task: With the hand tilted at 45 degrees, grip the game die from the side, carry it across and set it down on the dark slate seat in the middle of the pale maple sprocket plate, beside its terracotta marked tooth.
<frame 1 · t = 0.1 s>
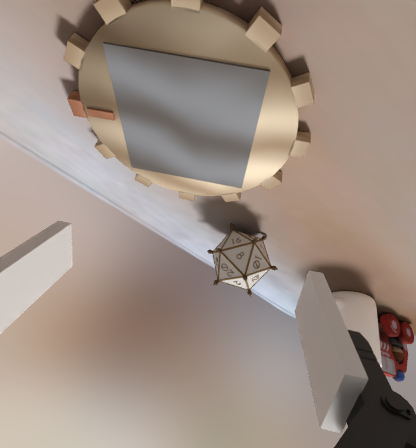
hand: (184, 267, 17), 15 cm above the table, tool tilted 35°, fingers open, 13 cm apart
toy fire truck: (382, 318, 60), on the table
sprocket plate: (189, 119, 27), on the table
mug: (344, 294, 53), on the table
game die: (244, 232, 43), on the table
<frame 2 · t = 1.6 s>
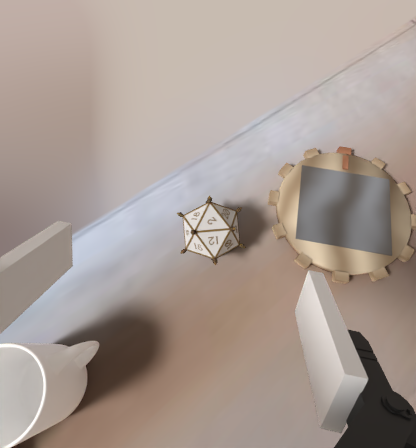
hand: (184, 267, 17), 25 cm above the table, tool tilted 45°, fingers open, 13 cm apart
sprocket plate: (340, 211, 45), on the table
mug: (67, 373, 37), on the table
game die: (210, 240, 43), on the table
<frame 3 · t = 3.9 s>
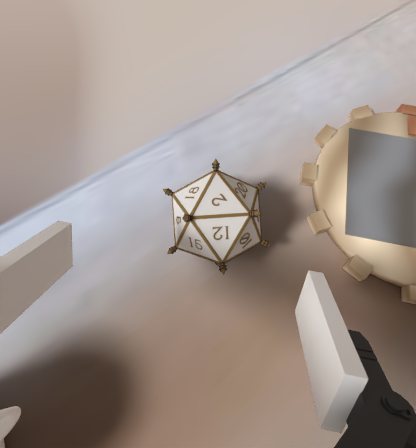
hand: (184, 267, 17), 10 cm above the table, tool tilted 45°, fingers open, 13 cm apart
sprocket plate: (407, 195, 30), on the table
game die: (215, 235, 29), on the table
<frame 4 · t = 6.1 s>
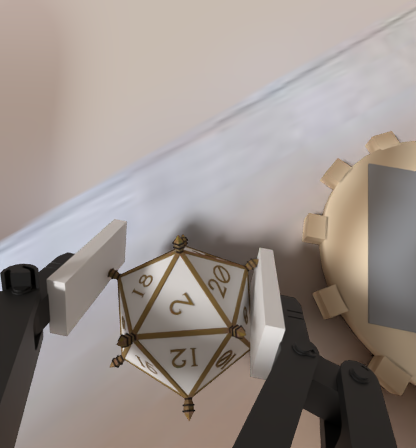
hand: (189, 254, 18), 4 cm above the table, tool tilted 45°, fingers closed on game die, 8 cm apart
game die: (189, 319, 20), on the table, touching gripper
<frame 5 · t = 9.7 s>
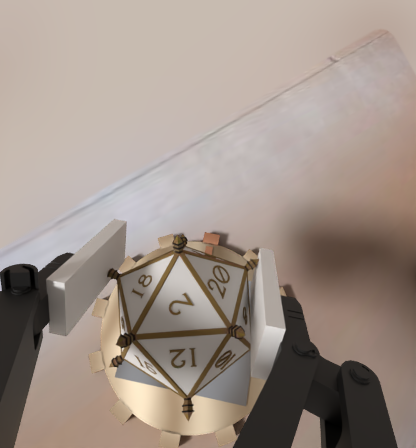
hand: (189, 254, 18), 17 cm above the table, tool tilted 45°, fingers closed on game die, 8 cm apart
sprocket plate: (193, 328, 33), on the table
game die: (188, 319, 20), point 13 cm above the table, touching gripper
when the fingers open (6 cm above the table, at t = 12.9 s): game die drops 1 cm, resting on sprocket plate.
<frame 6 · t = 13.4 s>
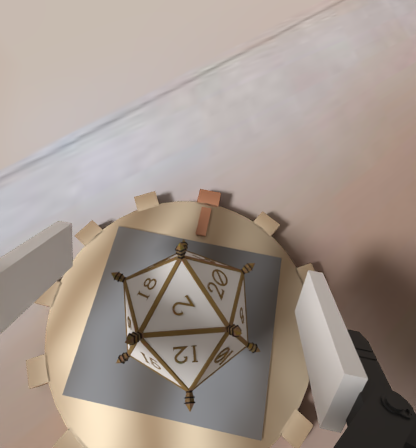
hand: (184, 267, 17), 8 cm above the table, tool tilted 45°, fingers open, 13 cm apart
sprocket plate: (182, 322, 23), on the table
game die: (189, 318, 22), point 1 cm above the table, touching sprocket plate
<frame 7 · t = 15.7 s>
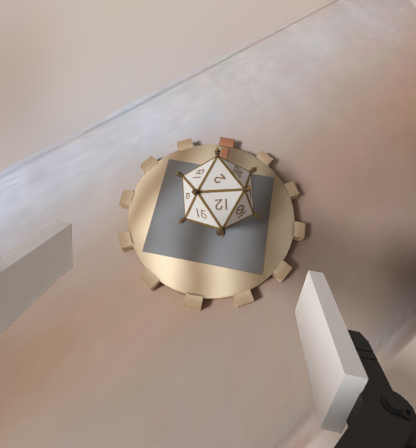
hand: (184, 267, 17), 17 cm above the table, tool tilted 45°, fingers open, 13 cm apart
sprocket plate: (211, 217, 36), on the table
game die: (216, 212, 35), point 1 cm above the table, touching sprocket plate
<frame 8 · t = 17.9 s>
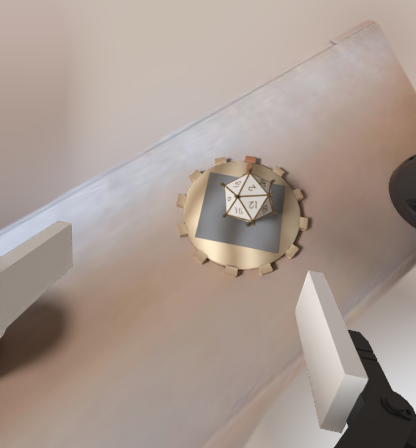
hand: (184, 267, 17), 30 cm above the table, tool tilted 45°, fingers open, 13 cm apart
sprocket plate: (240, 213, 51), on the table
game die: (245, 210, 49), point 1 cm above the table, touching sprocket plate
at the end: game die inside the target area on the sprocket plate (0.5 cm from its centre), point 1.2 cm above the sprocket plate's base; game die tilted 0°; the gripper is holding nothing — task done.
